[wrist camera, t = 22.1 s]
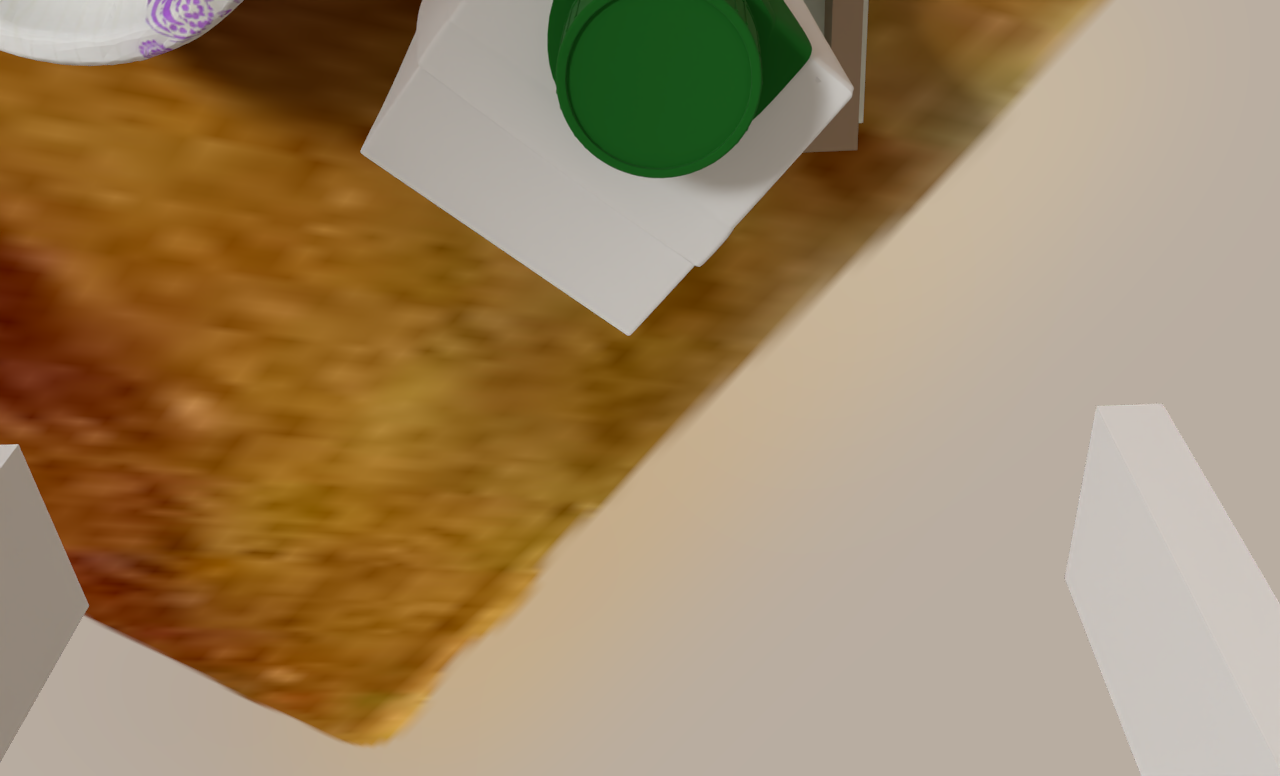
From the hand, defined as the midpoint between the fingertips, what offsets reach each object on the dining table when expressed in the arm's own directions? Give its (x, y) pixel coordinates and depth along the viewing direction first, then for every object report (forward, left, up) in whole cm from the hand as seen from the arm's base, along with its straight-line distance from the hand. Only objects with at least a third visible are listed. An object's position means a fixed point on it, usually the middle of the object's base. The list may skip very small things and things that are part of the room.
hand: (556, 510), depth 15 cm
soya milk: (0, 0, -31) cm, 31 cm away
